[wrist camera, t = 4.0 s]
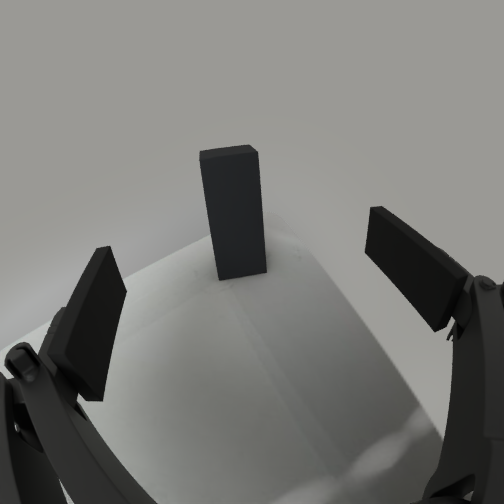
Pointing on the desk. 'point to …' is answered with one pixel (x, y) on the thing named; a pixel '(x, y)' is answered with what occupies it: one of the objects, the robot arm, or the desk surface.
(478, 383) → the robot arm
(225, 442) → the desk surface
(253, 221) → the black rectangular block
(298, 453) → the desk surface
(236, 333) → the desk surface
